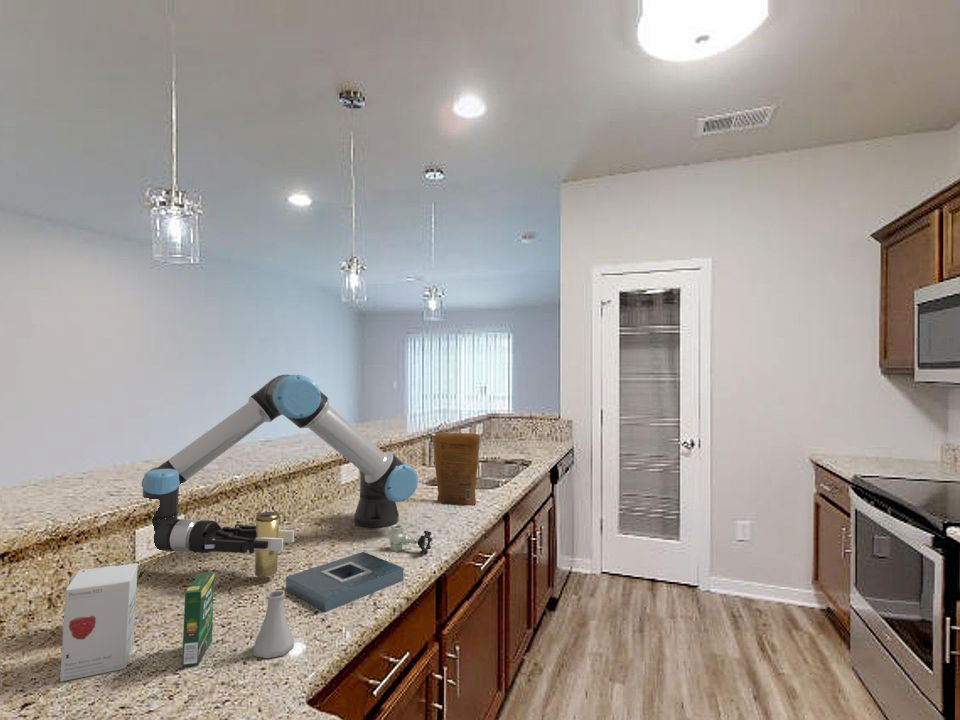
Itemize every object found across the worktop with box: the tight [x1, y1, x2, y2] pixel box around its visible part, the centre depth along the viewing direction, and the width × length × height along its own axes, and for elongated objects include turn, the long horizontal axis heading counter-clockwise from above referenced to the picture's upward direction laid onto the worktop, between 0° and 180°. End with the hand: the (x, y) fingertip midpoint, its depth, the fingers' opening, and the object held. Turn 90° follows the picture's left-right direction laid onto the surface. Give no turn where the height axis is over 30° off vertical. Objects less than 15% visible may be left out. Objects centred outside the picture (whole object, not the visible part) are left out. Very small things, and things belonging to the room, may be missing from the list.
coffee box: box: [181, 572, 215, 668], centre depth 88 cm, size 8×3×13 cm, turn 13°
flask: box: [252, 589, 295, 659], centre depth 91 cm, size 7×7×10 cm
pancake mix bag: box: [432, 432, 481, 506], centre depth 195 cm, size 7×19×28 cm, turn 74°
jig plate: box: [285, 551, 404, 613], centre depth 118 cm, size 22×16×3 cm
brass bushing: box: [254, 511, 280, 578], centre depth 120 cm, size 5×5×14 cm
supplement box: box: [59, 562, 139, 683], centre depth 85 cm, size 9×9×15 cm
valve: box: [388, 524, 433, 555], centre depth 142 cm, size 7×7×12 cm
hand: (287, 540), depth 120 cm, fingers closed on brass bushing, 5 cm apart
